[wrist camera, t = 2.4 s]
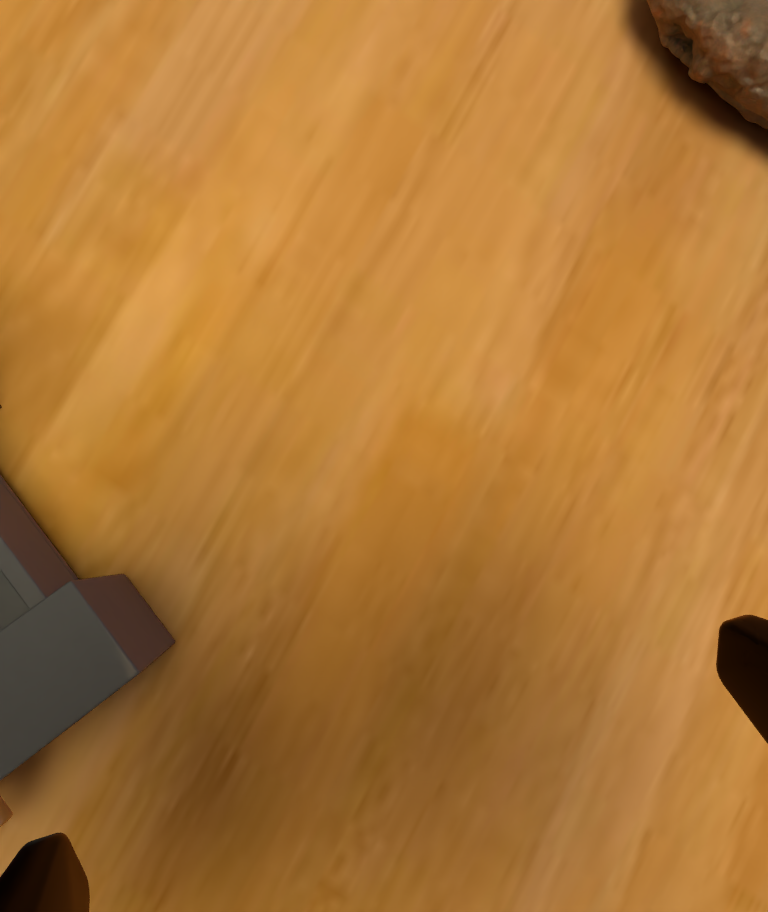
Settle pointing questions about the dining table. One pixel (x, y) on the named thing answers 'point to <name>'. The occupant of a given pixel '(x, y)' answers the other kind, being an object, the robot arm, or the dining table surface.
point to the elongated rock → (721, 48)
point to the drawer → (60, 639)
